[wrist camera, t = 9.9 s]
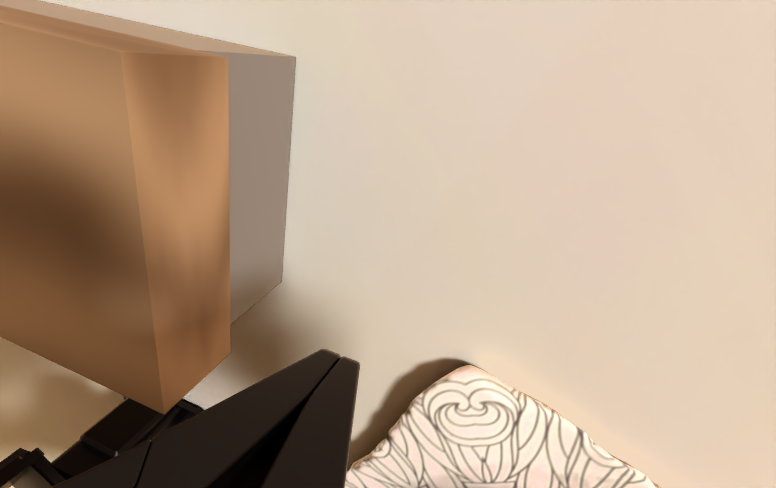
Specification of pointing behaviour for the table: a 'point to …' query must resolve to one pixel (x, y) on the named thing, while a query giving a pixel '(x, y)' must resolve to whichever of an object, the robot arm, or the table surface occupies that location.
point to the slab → (114, 205)
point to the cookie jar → (487, 443)
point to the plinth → (234, 145)
